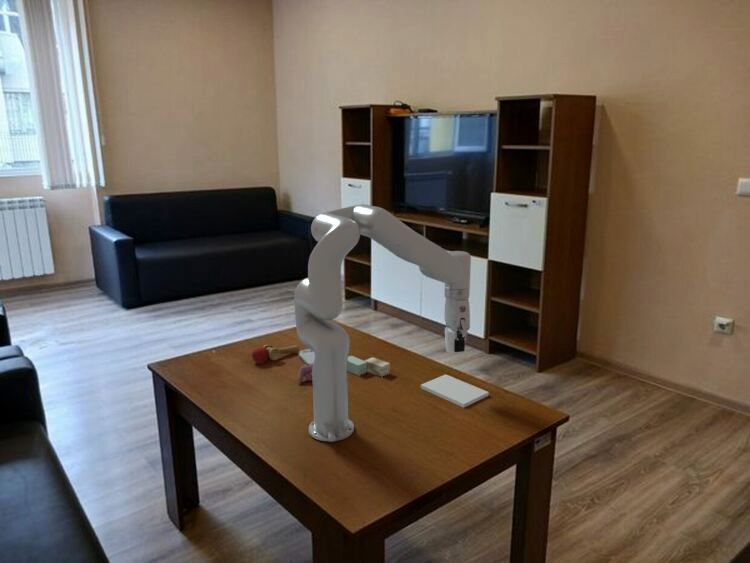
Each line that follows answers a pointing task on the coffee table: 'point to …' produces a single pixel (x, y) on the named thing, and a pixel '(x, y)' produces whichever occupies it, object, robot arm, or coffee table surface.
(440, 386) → the ceramic tile
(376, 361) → the birch block
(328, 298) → the robot arm
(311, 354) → the game console
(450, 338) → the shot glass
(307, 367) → the video game controller
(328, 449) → the coffee table surface
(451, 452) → the coffee table surface
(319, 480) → the coffee table surface
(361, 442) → the coffee table surface
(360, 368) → the sage block
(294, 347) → the kendama
